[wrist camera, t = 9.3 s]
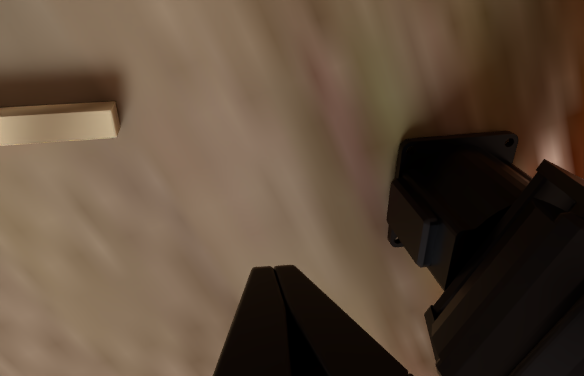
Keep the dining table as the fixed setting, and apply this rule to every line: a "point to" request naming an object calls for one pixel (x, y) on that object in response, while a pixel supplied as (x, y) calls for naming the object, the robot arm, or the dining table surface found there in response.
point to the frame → (58, 123)
